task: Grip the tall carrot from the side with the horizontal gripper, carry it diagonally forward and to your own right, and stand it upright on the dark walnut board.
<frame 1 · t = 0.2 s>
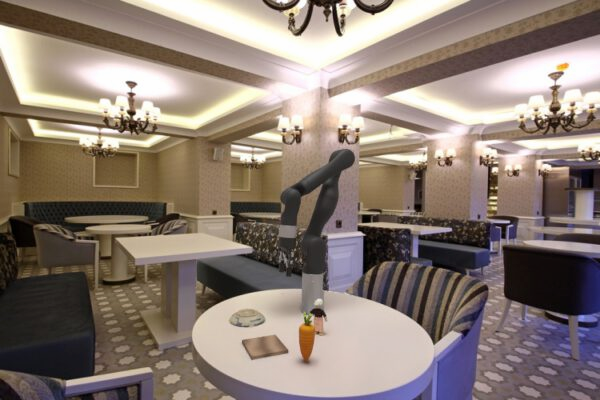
hand: (284, 274, 131), 18 cm above the table, tool pointing down, fingers open, 8 cm apart
grandmother figurine: (317, 333, 115), on the table
carrot: (306, 362, 94), on the table
walnut board: (264, 347, 102), on the table
decorative bowl: (247, 321, 126), on the table
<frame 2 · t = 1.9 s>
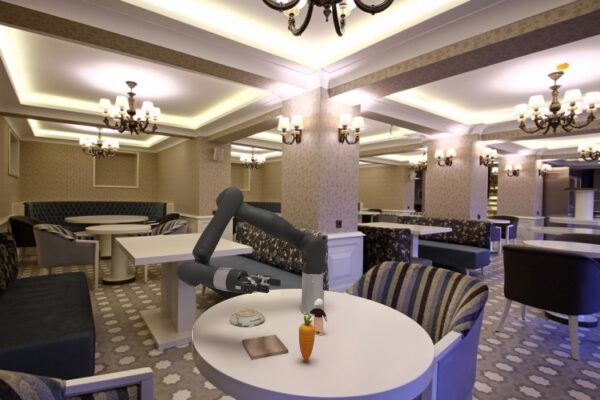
hand: (274, 286, 98), 22 cm above the table, tool horizontal, fingers open, 8 cm apart
nothing on the table moved.
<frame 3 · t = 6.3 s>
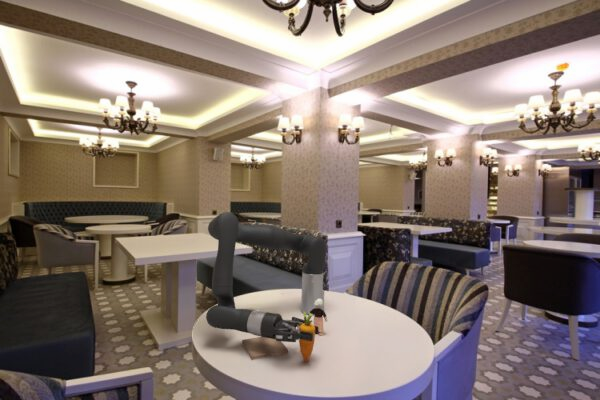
hand: (315, 333, 94), 9 cm above the table, tool horizontal, fingers closed on carrot, 4 cm apart
carrot: (306, 362, 94), on the table, touching gripper
everything else where it was.
when the fingers open (11 cm above the table, at t = 10.6 s): carrot stays where it is, resting on walnut board.
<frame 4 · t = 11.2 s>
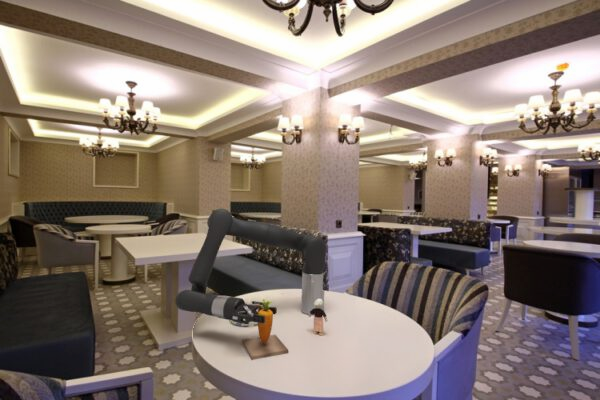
hand: (270, 315, 102), 11 cm above the table, tool horizontal, fingers open, 8 cm apart
carrot: (264, 345, 103), point 1 cm above the table, touching walnut board
everything else where it was.
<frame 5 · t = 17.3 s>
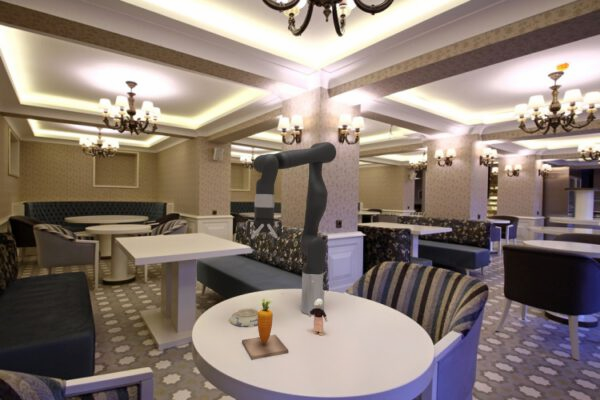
hand: (263, 248, 120), 30 cm above the table, tool pointing down, fingers open, 8 cm apart
nothing on the table moved.
at the end: carrot inside the target area on the walnut board (0.1 cm from its centre), point 0.8 cm above the walnut board's base; carrot tilted 0°; the gripper is holding nothing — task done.
